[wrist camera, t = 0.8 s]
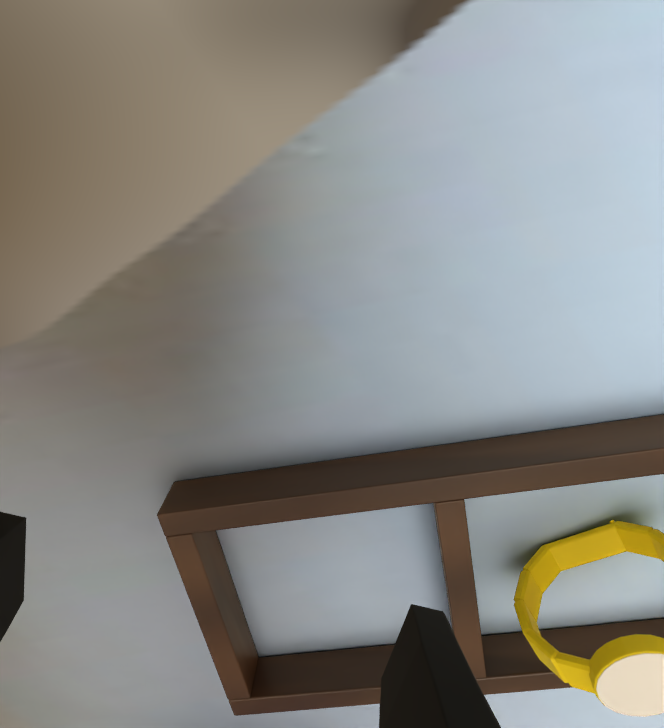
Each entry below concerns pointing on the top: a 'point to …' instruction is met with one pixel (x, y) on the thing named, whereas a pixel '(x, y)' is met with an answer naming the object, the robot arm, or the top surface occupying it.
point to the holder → (382, 491)
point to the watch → (615, 658)
